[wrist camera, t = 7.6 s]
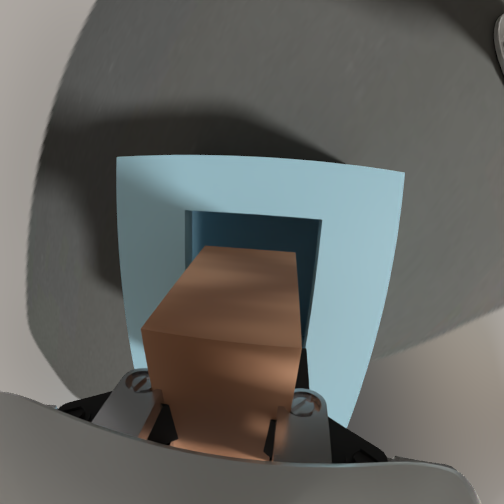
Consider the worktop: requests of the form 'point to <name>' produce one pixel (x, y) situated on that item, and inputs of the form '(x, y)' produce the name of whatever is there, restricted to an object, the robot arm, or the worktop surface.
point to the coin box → (268, 245)
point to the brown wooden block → (227, 348)
